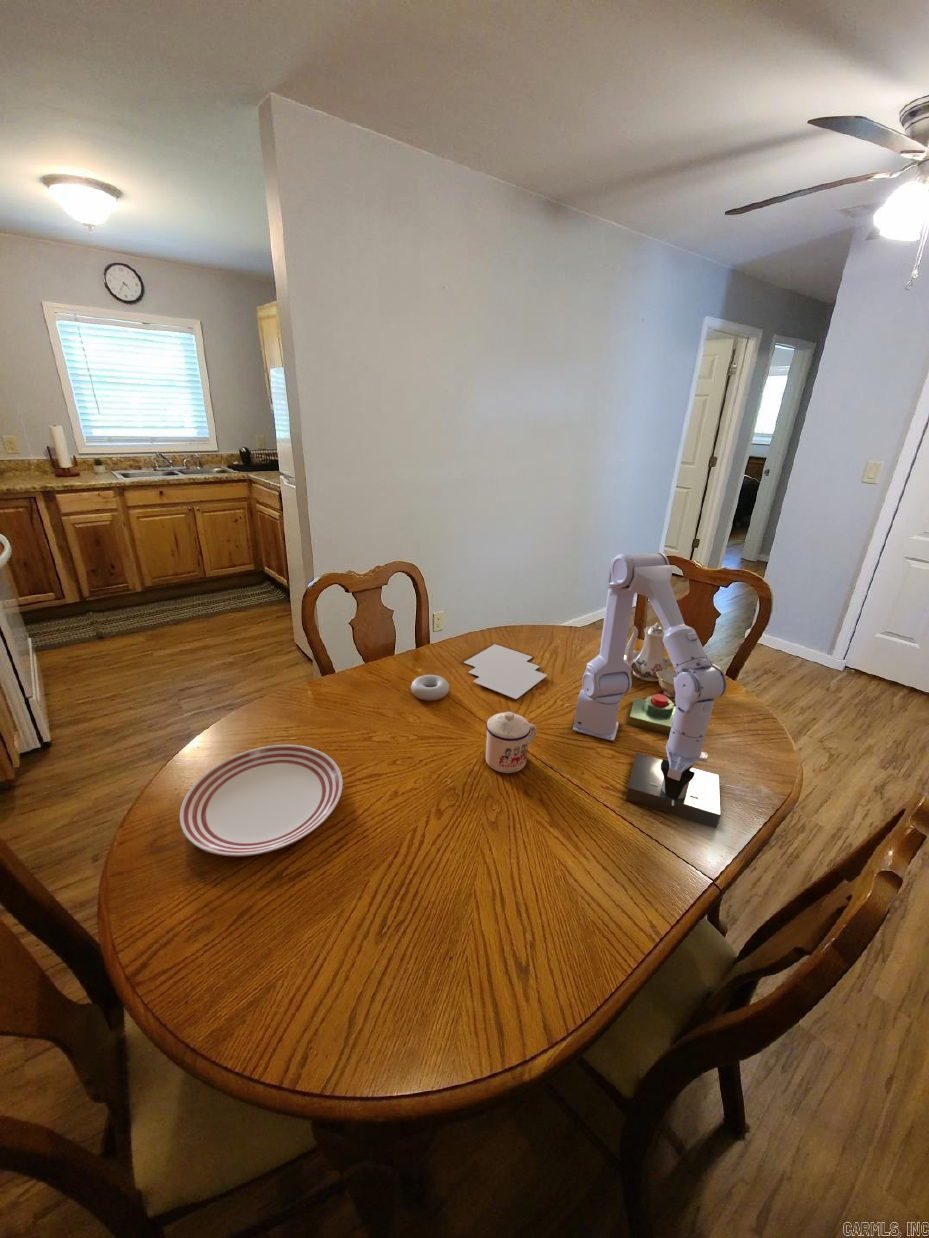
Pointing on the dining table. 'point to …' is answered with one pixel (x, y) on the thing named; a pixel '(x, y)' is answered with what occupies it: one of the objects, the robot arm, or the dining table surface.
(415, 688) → the donut
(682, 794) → the hob knob
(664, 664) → the chinaware
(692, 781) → the hob panel
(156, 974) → the dining table surface
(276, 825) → the dinner plate
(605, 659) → the robot arm
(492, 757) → the teacup with lid
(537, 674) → the paper stack
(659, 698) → the button
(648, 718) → the block
